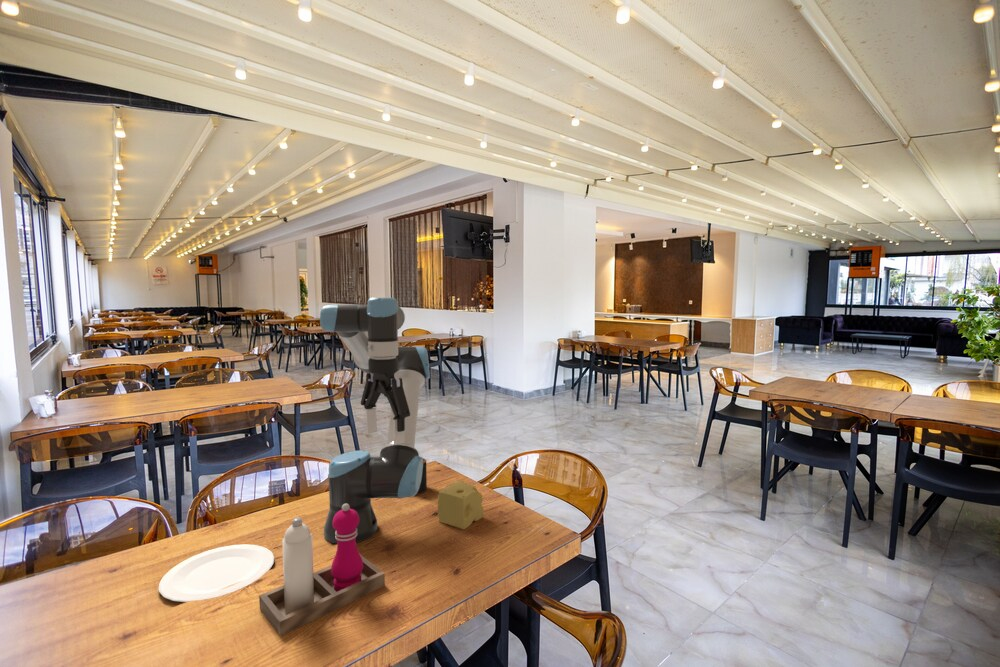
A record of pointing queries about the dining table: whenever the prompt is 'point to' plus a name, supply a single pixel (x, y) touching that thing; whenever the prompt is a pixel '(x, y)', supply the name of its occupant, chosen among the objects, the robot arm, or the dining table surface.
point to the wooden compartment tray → (319, 598)
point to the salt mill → (297, 566)
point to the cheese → (460, 505)
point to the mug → (423, 479)
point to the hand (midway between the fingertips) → (384, 437)
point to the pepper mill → (346, 549)
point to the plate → (216, 572)
